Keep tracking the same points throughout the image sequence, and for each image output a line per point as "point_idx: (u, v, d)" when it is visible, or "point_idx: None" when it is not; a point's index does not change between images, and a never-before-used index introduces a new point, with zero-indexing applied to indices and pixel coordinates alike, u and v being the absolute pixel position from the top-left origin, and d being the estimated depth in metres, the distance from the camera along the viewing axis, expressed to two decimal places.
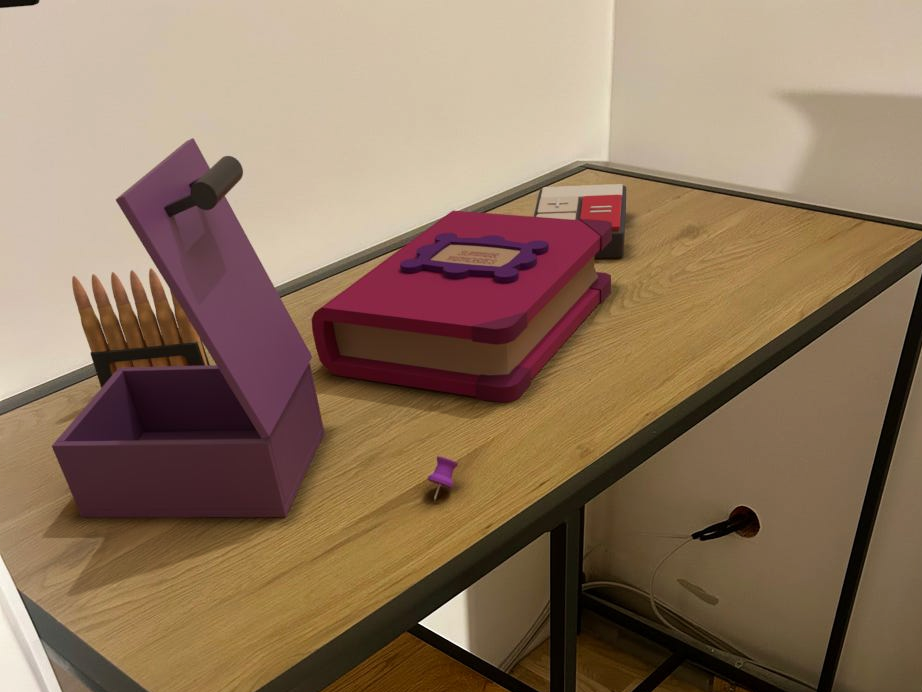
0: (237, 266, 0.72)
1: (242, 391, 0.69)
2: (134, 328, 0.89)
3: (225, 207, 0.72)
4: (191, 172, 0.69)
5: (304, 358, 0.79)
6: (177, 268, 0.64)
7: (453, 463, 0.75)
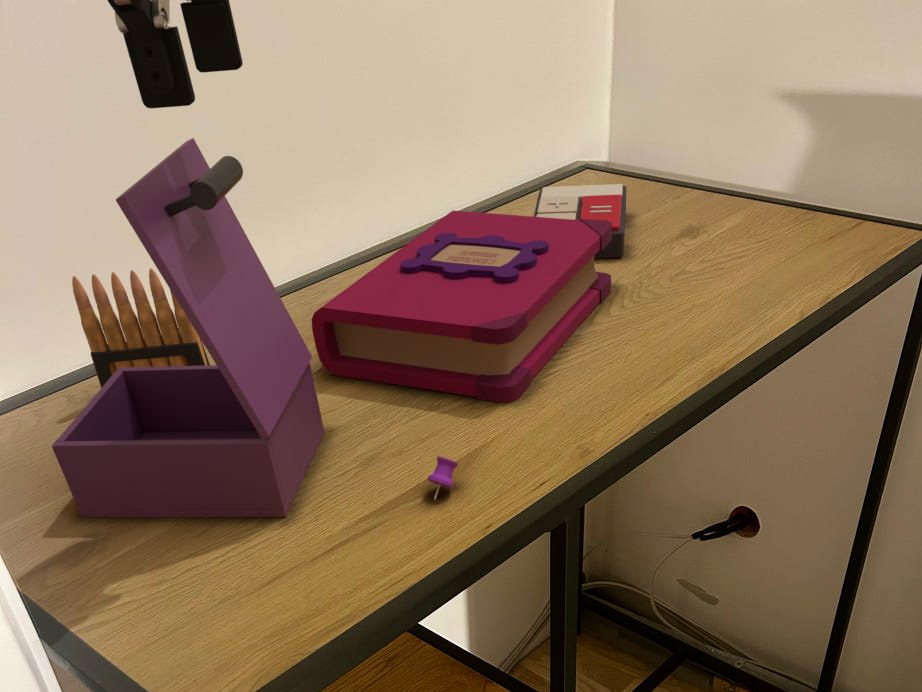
0: (237, 266, 0.72)
1: (242, 391, 0.69)
2: (134, 328, 0.89)
3: (225, 207, 0.72)
4: (191, 172, 0.69)
5: (304, 358, 0.79)
6: (177, 268, 0.64)
7: (453, 463, 0.75)
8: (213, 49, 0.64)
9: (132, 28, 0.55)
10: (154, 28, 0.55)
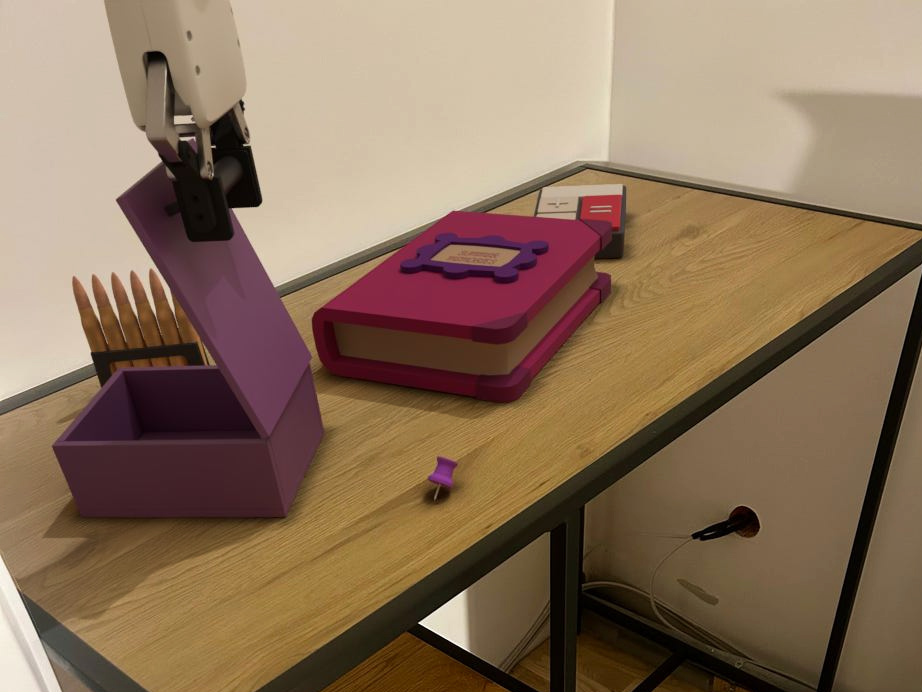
0: (237, 266, 0.72)
1: (242, 391, 0.69)
2: (134, 328, 0.89)
3: None
4: None
5: (304, 358, 0.79)
6: (177, 268, 0.64)
7: (453, 463, 0.75)
8: (235, 189, 0.69)
9: (181, 178, 0.61)
10: (200, 179, 0.61)
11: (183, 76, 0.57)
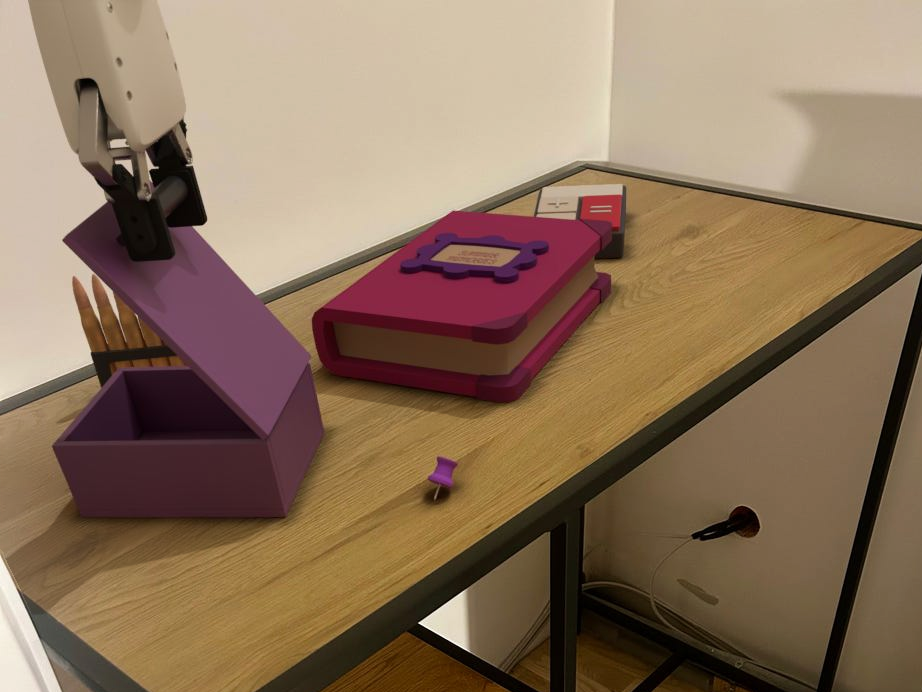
0: (209, 282, 0.73)
1: (230, 396, 0.69)
2: (134, 328, 0.89)
3: (188, 230, 0.74)
4: None
5: (302, 358, 0.79)
6: (138, 292, 0.66)
7: (453, 463, 0.75)
8: (180, 209, 0.70)
9: (119, 200, 0.63)
10: (138, 200, 0.63)
11: (114, 101, 0.58)
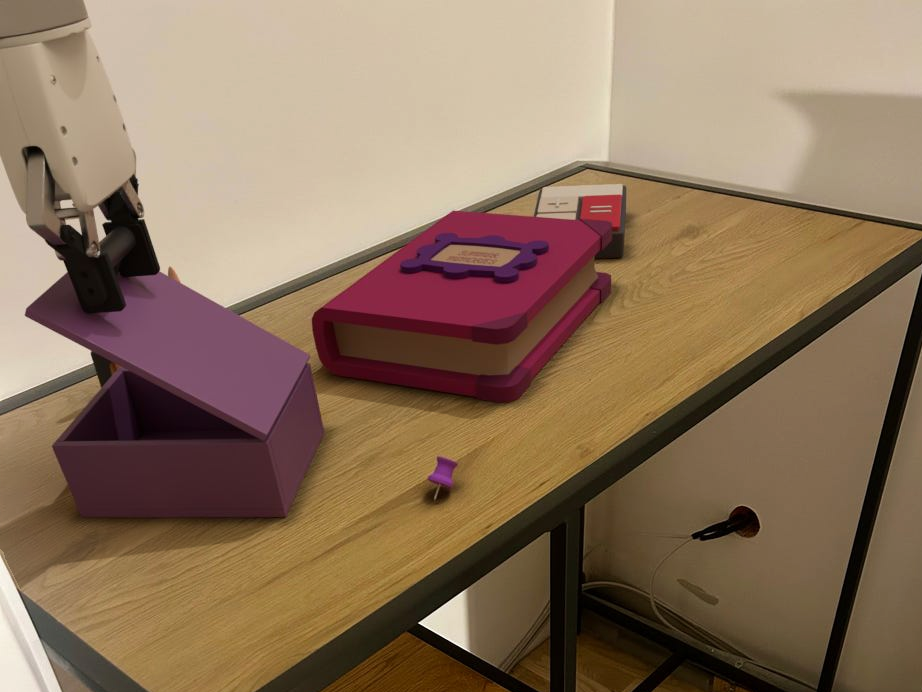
0: (185, 315, 0.75)
1: (219, 408, 0.70)
2: None
3: (157, 277, 0.77)
4: None
5: (299, 359, 0.79)
6: (106, 339, 0.68)
7: (453, 463, 0.75)
8: (133, 259, 0.73)
9: (69, 257, 0.66)
10: (87, 257, 0.66)
11: (60, 167, 0.61)
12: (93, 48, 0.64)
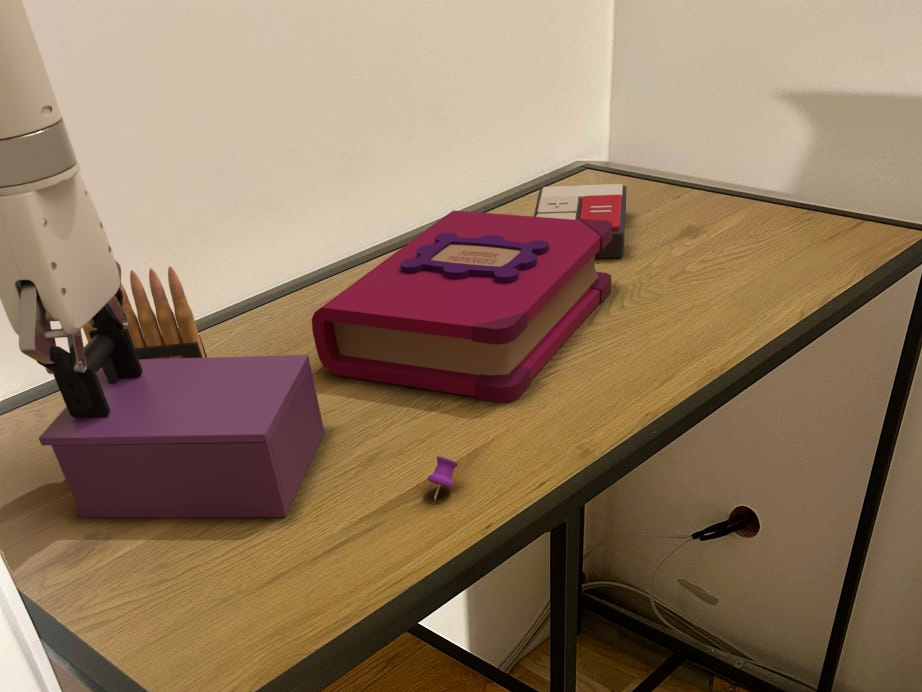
0: (182, 379, 0.79)
1: (215, 434, 0.71)
2: (134, 328, 0.89)
3: (156, 363, 0.82)
4: None
5: (296, 363, 0.80)
6: (109, 429, 0.73)
7: (453, 463, 0.75)
8: (117, 363, 0.79)
9: (58, 372, 0.72)
10: (74, 372, 0.72)
11: (50, 298, 0.67)
12: (81, 184, 0.70)
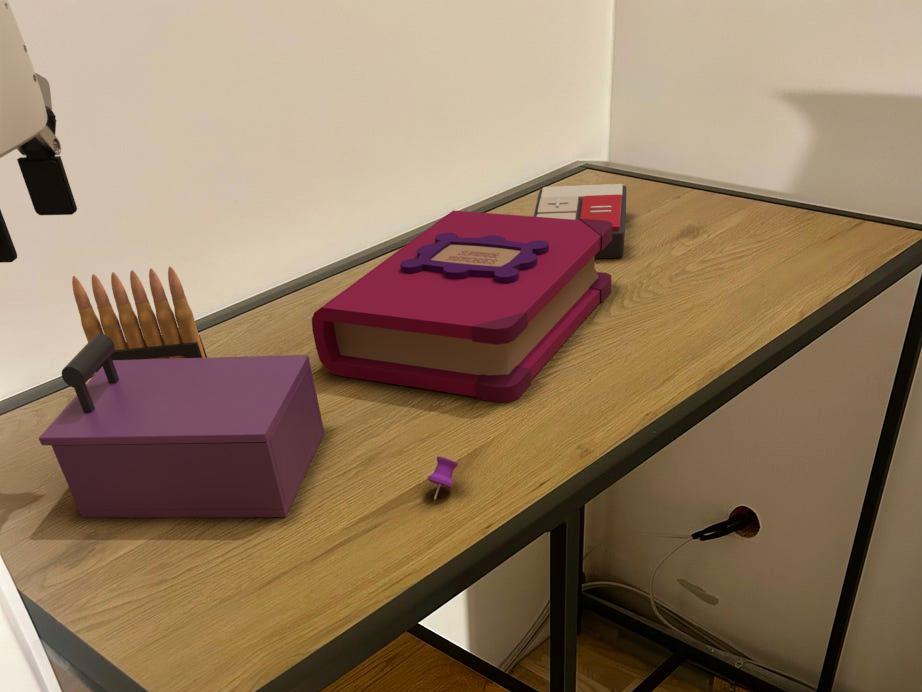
0: (182, 379, 0.79)
1: (215, 434, 0.71)
2: (134, 328, 0.89)
3: (156, 363, 0.82)
4: None
5: (296, 363, 0.80)
6: (109, 429, 0.73)
7: (453, 463, 0.75)
8: (49, 197, 0.72)
9: None
10: None
11: None
12: None
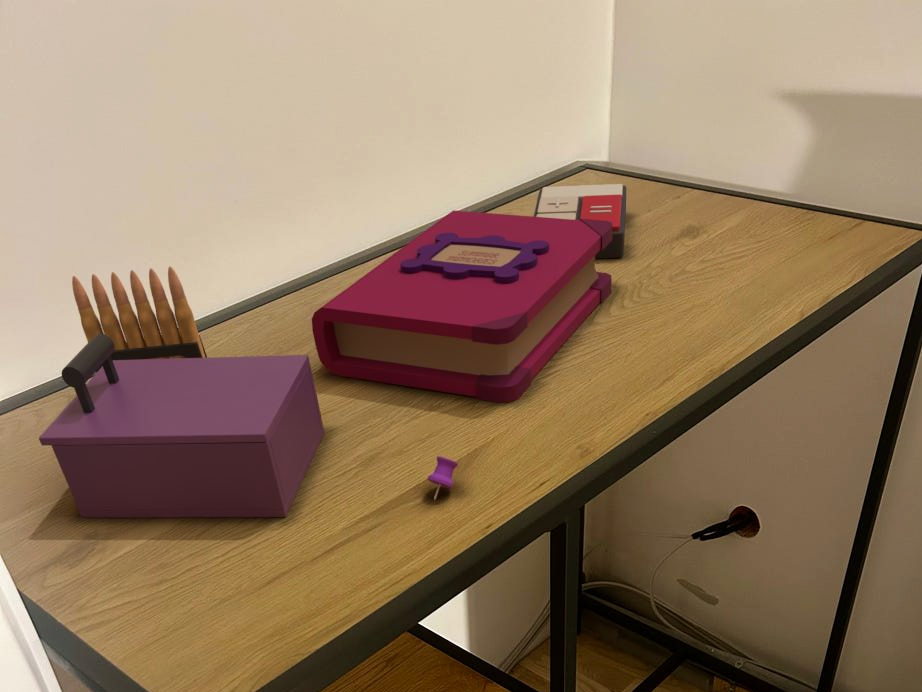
0: (182, 379, 0.79)
1: (215, 434, 0.71)
2: (134, 328, 0.89)
3: (156, 363, 0.82)
4: None
5: (296, 363, 0.80)
6: (109, 429, 0.73)
7: (453, 463, 0.75)
8: None
9: None
10: None
11: None
12: None
